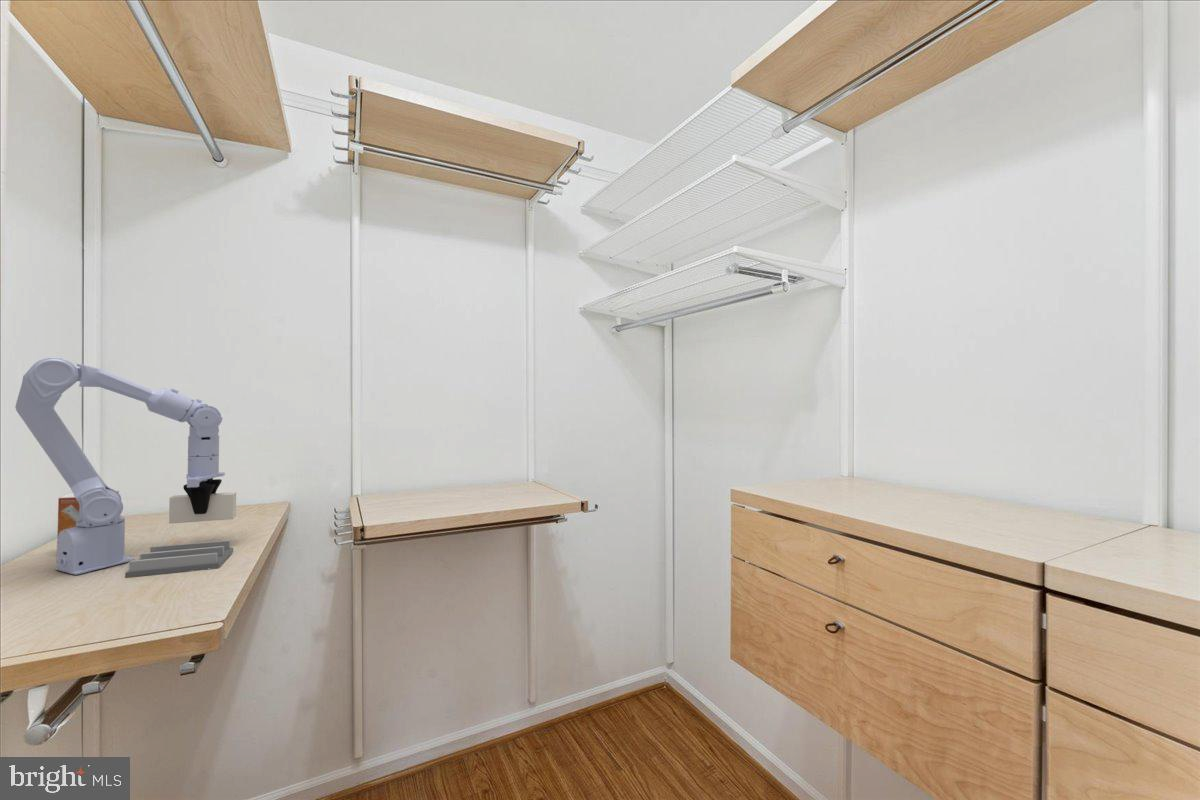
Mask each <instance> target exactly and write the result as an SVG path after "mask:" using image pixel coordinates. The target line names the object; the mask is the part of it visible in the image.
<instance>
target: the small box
mask: <svg viewBox="0 0 1200 800" xmlns="http://www.w3.org/2000/svg"><path fill="white" fill-rule="evenodd" d="M116 491H117V492H118V493H119V494H120V490H116ZM57 503H58V504H57V507H58V508H57V537H56V540H57V539H58V535H59V533H60V532H61V531H62V530H65V529H69V528H72V527H74V526H76V522H77V521H79V520H80V519H81V517H80V514H79V509H80V505H79V502H78V501H77V499H76V498H75V496H74V494H73V492H71V493H69V494H66V495H63V496H60V497H58V502H57Z"/></svg>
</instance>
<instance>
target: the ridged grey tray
mask: <svg viewBox="0 0 1200 800" xmlns="http://www.w3.org/2000/svg"><path fill="white" fill-rule="evenodd" d="M149 549H150V550H149V551H150V552H142V553H140V554H139V557H140V559H134V560H133V561H129V562H128V564H129V566H128V570H126V571H125V572H124V578H126V579H127V578H137V577H145V576H155V575H164V574H165V573H166V574H175V573H174V572H176V573H182V572H181V571H186V572H191V571H190V570H195V571H200V570H199V569H205V570H209V569H208V568H215V569H219V568H220V567H222V565H223V564H224V563H225V562H226V561H227V559H229V557H230V556H231V555H232V554H233V553H234V547H231V539H223V540H213V541H212V540H211V541H200V542H199V541H198V542H190V543H189V542H188V543H187V542H186V543H177V544H175V543H174V544H165V545H154V546H150V548H149ZM232 552H233V553H232ZM231 553H232V554H231ZM225 560H226V561H225ZM224 561H225V562H224ZM223 562H224V563H223ZM221 564H222V565H221Z"/></svg>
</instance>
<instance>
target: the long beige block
mask: <svg viewBox="0 0 1200 800" xmlns="http://www.w3.org/2000/svg"><path fill="white" fill-rule="evenodd" d="M168 517H169V518H168V524H184V523H185V524H186V523H198V522H199V523H200V522H210V521H212V522H213V521H214V522H215V521H226V520H227V521H229V520H234V519H235V518H236V517H237V492H219V493H218V492H216V493H214V494H211V495H210V499H209V505H208V509H207V512H206V514H194V511H193V508H192V504H191V501H190V498H189V496H188V494H180V495H179V494H177V495H172V496H170V497H169V509H168Z"/></svg>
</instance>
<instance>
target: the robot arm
mask: <svg viewBox="0 0 1200 800" xmlns="http://www.w3.org/2000/svg"><path fill="white" fill-rule="evenodd" d="M75 364H76V365H75ZM75 364H74V363H72V362H71V361H69V360H67V359H64V358H62V357H53V356H52V357H45V358H42V359H40V360H38V361H36V362H34V364H33V365H32V366H30V368H29V369H28V370H27V371H26V372H25V373H24V374H23V377H22V380H21V386H20V388H19V392H18V396H17V399H16V403H15V411H16V412H17V414H18V415H19V417H20V418H21V419H22V421H23V423H24V424H25V425H26V426H27V428H28V430H29V431H30V432H31V434H32V435H33V436H34V438H35V439H36V441H37V442H38V443H39V445H40V447H41V448H42V449H43V451H44V452H45V454H46V455H47V456H48V458H49V460H50V461H51V462H52V464H53V466H54V467H55V468H56V469H57V471H58V472H59V474H60V475H61V477H62V478H63V480H64V481H65V482H66V484H67V485H68V487H69V488H70V490H71V493H73V494H74V496H75V498H76V499H77V501H78V502H79V505H80V509H79V514H80V517H81V519H80V520H79V521H77V522H76V526H74V527H72V528H69V529H65V530H62V531H61V532H60V533H59V535H58V534H57V535H58V539H57V538H56V566H55V567H54V569H55V570H57V571H60V572H63V573H66V574H71V575H74V576H75V575H80V574H85V573H89V572H92V571H98V570H101V569H104V568H109V567H113V566H117V565H122V564H125V563H129V562H130V561H133V560H135V557H131V556H127V555H125V545H126V544H125V539H126V537H125V533H126V531H125V530H126V529H125V528H126V517H125V516H123V515H121V514H122V512H123V511H124V502H123V501H122V497H121V494H120V492H119V493H118V492H117V491H118V490H115V489H113V488H110V487H109V486H107V484H106V483H105V481H104V480H103V478H102V477H101V476H100V475H99V473H97V471H96V468H94V466H93V465H92V463H91V462H90V460H89V458H88V457H87V456H86V454H85V452H84V451H83V450H82V448H81V447H80V445H79V444H78V442H77V441H76V439H75V437H74V436H73V435H72V433H71V432H70V431H69V429H68V428H67V426H66V425H65V423H64V421H63V420H62V419H61V417H60V416H59V414H58V413H57V411H56V410H55V407H56V405H57V403H59V400H60V399H61V397H62V394H63V393H65V392H66V391H67V390H69V389H70V388H71V387H73V385H75V384H76V383H77V382H79V385H78V387H81V388H85V387H86V388H87V387H89V388H101V389H104V390H107V391H111V392H113V393H115V394H120V395H123V396H125V397H128V398H130V399H134V400H136V401H139V402H142V403H145V405H146V407H147V410H148V411H149V412H152V413H154V414H157V415H159V416H163V417H165V418H168V419H171V420H174V421H177V422H180V423H185V422H187V424H188V425H189V433H188V434H189V435H188V436H187V474H186V484H184V485H183V487H182V488H183V490H184V491H185V493H186V495H188V496H189V498H190V501H191V504H192V508H193V511H194V514H206V512H207V509H208V505H209V499H210V495H211V494H214V493H217V491H218V488H219V487H220V486H221V484H222V481H223V480H222V479H220V478H218V477H224V476H226V473H225V472H220V471H219V468H220V465H219V463H220V435H219V432H220V429H219V427H220V425H221V424H222V422H223V416H222V414H221V411H219V409H218V408H216V407H214V406H212V405H208V404H207V403H203V400H201V399H199V398H197V399H196V400H195V399H193V398H192V397H191V398H190V397H188V396H185V395H183V394H180V393H179V390H177V389H175V388H170V389H167V388H160V389H156V390H155V389H154V390H153V389H150V388H148V387H145V386H143V385H142V384H138V383H135V382H133V381H131V380H129V379H126V378H123V377H121V376H118V375H116V374H115V373H111V372H109V371H107V370H103V369H101V368H97V367H94V366H90V365H86V364H83V363H82V364H81V363H78V362H76V363H75ZM215 478H218V479H215Z"/></svg>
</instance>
